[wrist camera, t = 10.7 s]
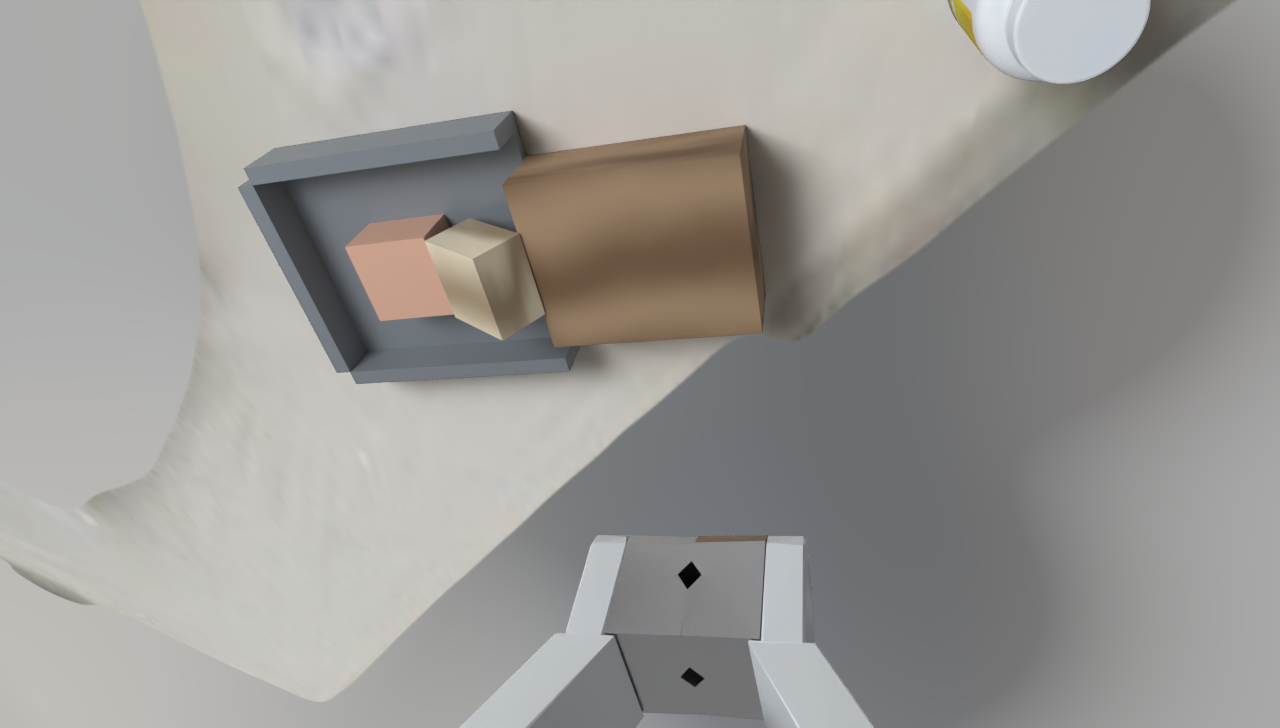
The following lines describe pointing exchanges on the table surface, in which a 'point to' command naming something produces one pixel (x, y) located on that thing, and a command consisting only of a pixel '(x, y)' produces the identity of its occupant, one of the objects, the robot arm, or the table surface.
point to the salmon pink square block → (400, 267)
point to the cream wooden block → (486, 277)
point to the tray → (385, 191)
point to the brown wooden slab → (643, 238)
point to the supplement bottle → (1052, 35)
